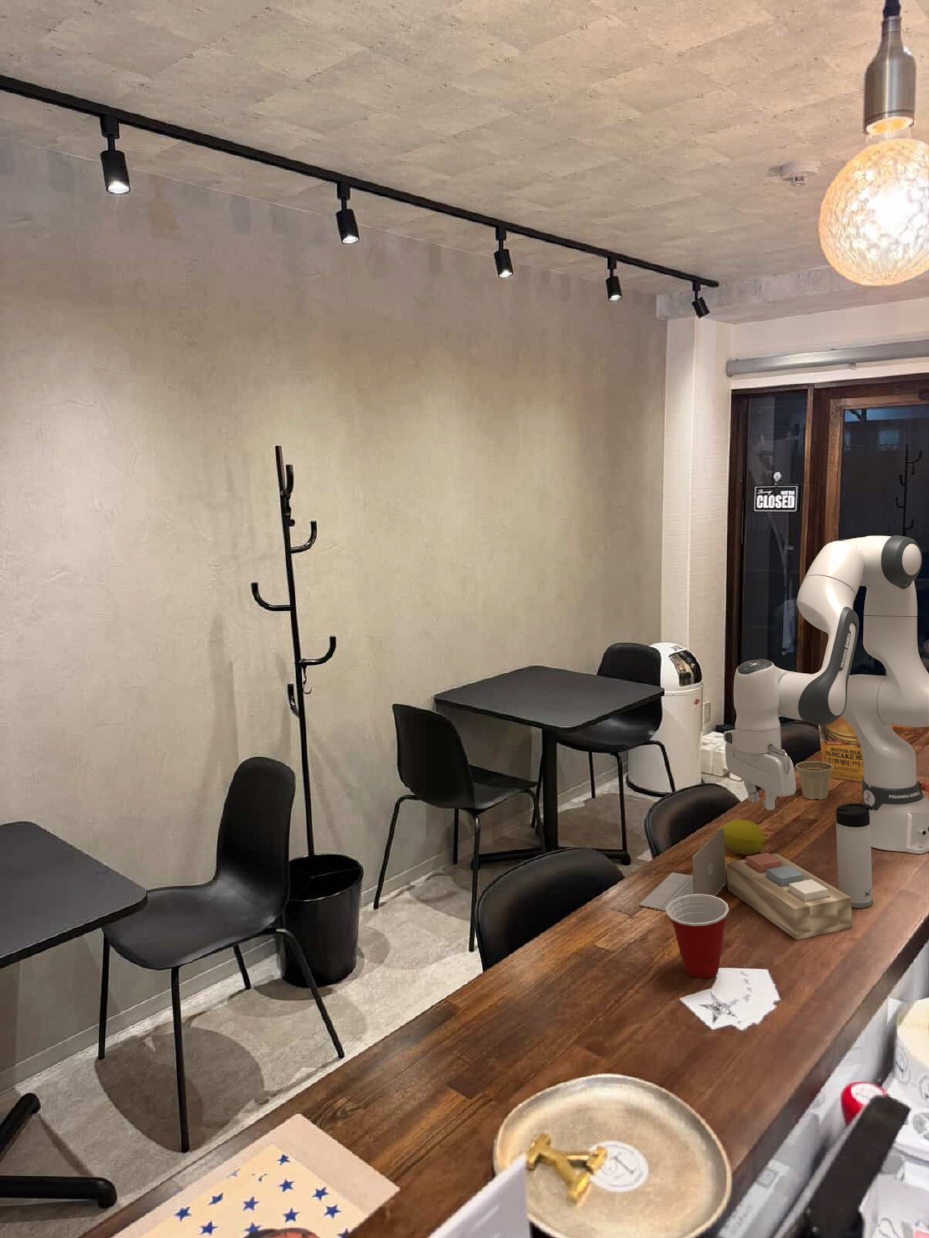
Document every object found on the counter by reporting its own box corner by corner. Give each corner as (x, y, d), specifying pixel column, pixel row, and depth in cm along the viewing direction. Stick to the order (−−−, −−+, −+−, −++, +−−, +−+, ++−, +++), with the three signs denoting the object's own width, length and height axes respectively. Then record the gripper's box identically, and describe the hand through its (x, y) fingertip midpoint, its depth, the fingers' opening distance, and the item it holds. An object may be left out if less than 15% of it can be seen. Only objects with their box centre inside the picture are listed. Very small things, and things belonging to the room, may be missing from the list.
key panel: (777, 879, 190) (776, 853, 190) (852, 927, 167) (851, 897, 166) (727, 889, 187) (726, 862, 187) (796, 939, 164) (795, 909, 164)
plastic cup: (656, 965, 159) (653, 902, 158) (705, 949, 163) (702, 888, 162) (694, 993, 149) (691, 926, 148) (745, 975, 153) (742, 910, 152)
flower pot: (802, 789, 247) (801, 759, 246) (837, 793, 241) (836, 762, 240) (792, 799, 239) (791, 768, 238) (829, 804, 234) (827, 772, 233)
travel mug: (878, 908, 174) (875, 810, 171) (842, 908, 175) (839, 811, 173) (870, 895, 180) (867, 800, 177) (835, 894, 181) (832, 800, 179)
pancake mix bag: (822, 770, 262) (819, 677, 259) (889, 780, 248) (886, 682, 245) (812, 775, 258) (809, 681, 254) (880, 786, 244) (877, 687, 241)
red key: (767, 866, 187) (767, 852, 187) (781, 874, 182) (781, 860, 182) (746, 870, 186) (746, 856, 185) (760, 879, 181) (759, 865, 181)
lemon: (773, 852, 205) (771, 819, 204) (757, 863, 200) (755, 829, 199) (730, 843, 213) (728, 811, 212) (713, 853, 207) (712, 821, 206)
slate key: (789, 879, 180) (788, 865, 179) (804, 888, 175) (803, 874, 175) (767, 883, 179) (766, 869, 178) (781, 893, 174) (781, 878, 173)
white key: (811, 893, 173) (811, 879, 172) (828, 904, 168) (827, 889, 167) (789, 898, 171) (788, 883, 171) (805, 908, 167) (804, 893, 166)
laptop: (672, 875, 198) (668, 819, 196) (727, 885, 191) (724, 827, 189) (638, 907, 183) (634, 847, 182) (696, 919, 176) (693, 857, 175)
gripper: (802, 749, 171) (805, 817, 173) (744, 727, 191) (747, 789, 193) (774, 754, 170) (777, 823, 172) (718, 731, 190) (721, 793, 191)
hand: (761, 804), depth 182 cm, fingers open, 4 cm apart
